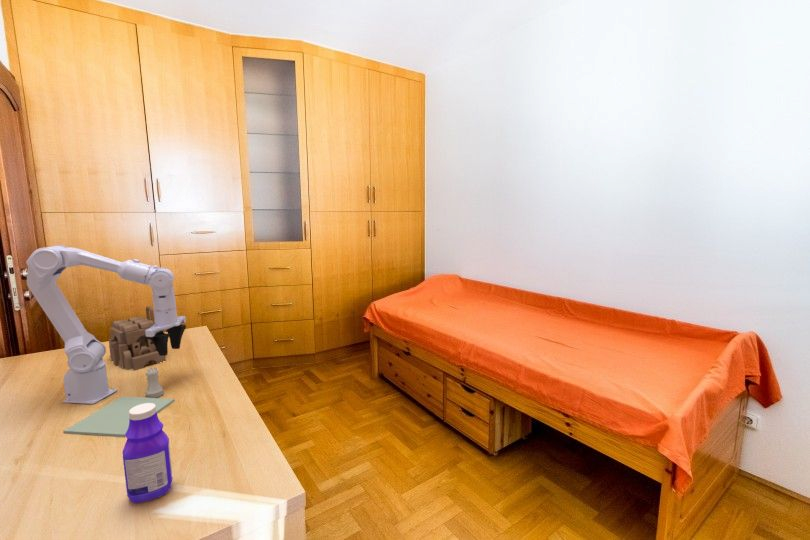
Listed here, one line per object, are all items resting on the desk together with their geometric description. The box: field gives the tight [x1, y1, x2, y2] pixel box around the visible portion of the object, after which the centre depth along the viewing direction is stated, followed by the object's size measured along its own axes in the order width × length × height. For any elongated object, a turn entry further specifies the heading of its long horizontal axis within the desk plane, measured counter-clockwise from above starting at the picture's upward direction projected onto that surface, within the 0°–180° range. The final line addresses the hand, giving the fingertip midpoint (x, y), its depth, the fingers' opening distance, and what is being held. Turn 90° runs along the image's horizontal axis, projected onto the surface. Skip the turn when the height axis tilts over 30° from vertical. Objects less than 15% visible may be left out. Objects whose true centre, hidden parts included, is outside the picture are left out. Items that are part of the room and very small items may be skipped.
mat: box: [62, 396, 176, 438], centre depth 98 cm, size 16×17×1 cm
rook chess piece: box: [145, 367, 165, 398], centre depth 108 cm, size 4×4×8 cm
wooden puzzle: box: [108, 305, 166, 371], centre depth 135 cm, size 22×15×19 cm, turn 54°
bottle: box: [122, 403, 174, 504], centre depth 70 cm, size 7×6×17 cm
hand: (169, 351), depth 115 cm, fingers open, 5 cm apart
